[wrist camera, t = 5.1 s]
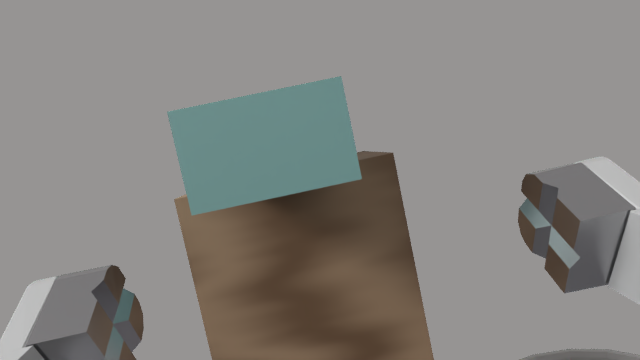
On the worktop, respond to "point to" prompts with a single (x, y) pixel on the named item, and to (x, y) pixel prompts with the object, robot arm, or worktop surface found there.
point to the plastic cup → (584, 355)
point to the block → (265, 145)
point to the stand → (310, 273)
